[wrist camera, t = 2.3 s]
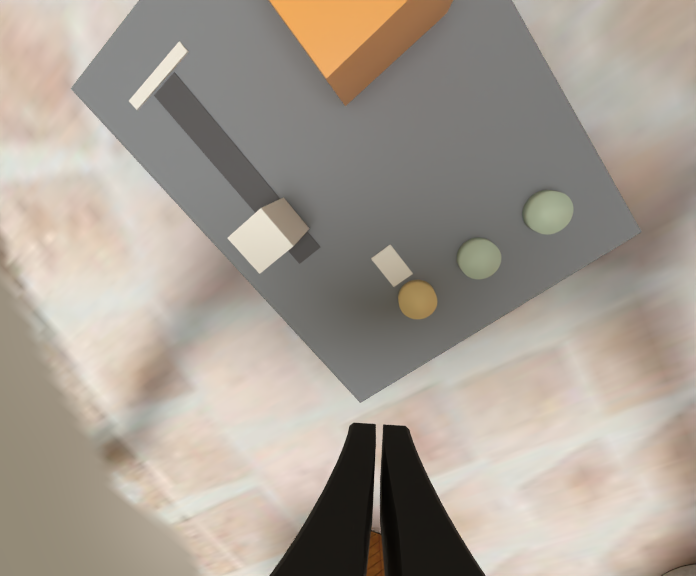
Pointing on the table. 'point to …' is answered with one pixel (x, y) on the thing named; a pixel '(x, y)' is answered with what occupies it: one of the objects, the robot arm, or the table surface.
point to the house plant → (683, 571)
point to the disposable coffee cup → (375, 556)
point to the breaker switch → (268, 234)
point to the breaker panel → (367, 171)
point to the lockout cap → (357, 35)
